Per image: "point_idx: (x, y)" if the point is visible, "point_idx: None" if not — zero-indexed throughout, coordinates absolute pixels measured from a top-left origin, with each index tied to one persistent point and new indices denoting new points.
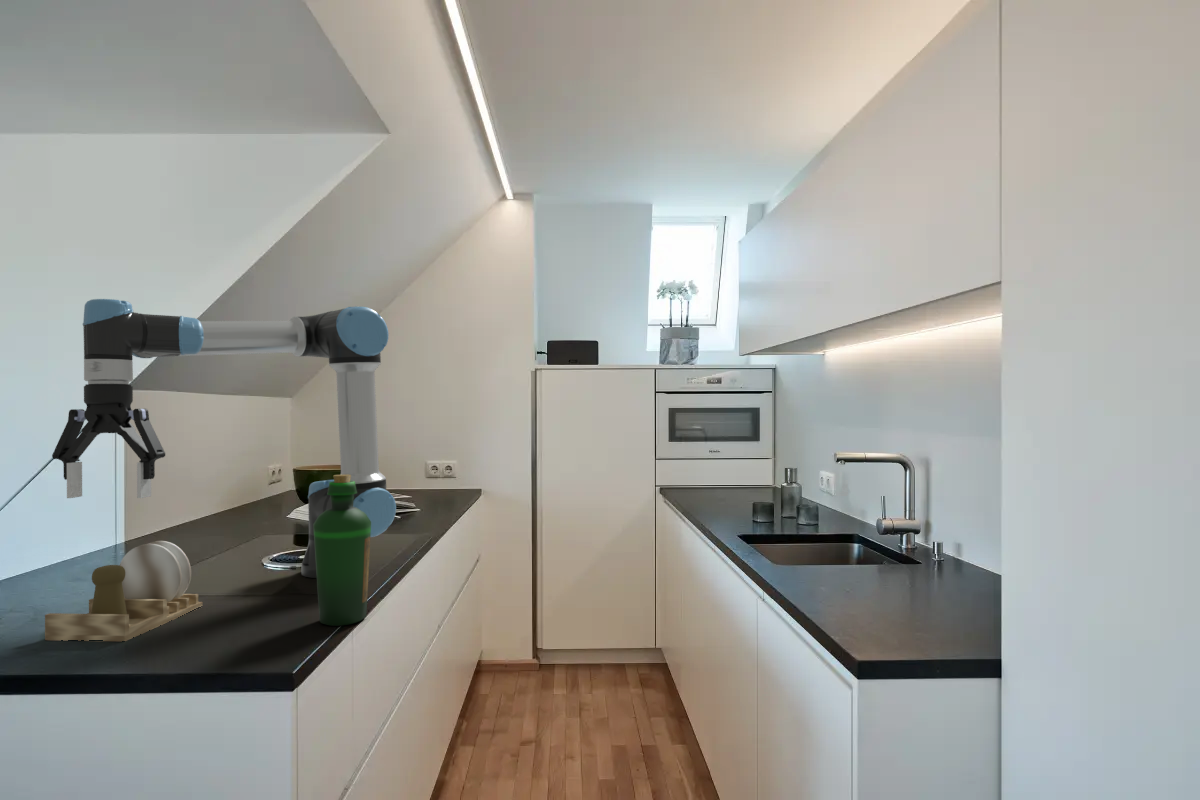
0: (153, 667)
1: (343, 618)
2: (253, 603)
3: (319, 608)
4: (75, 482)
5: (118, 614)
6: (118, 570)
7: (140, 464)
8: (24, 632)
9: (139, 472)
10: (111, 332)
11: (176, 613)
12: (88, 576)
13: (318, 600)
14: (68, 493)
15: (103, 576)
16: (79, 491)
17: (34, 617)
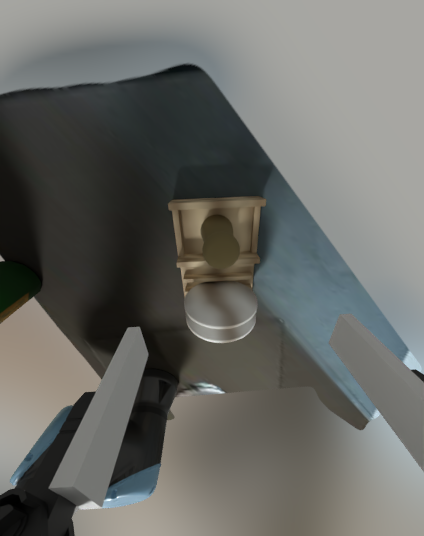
0: (62, 115)
1: None
2: (148, 312)
3: (13, 272)
4: (368, 366)
5: (180, 208)
6: (204, 250)
7: (58, 471)
8: (297, 218)
9: (90, 417)
10: None
11: (181, 271)
12: None
13: (14, 280)
14: (356, 324)
15: (214, 235)
16: (340, 348)
17: (318, 260)
